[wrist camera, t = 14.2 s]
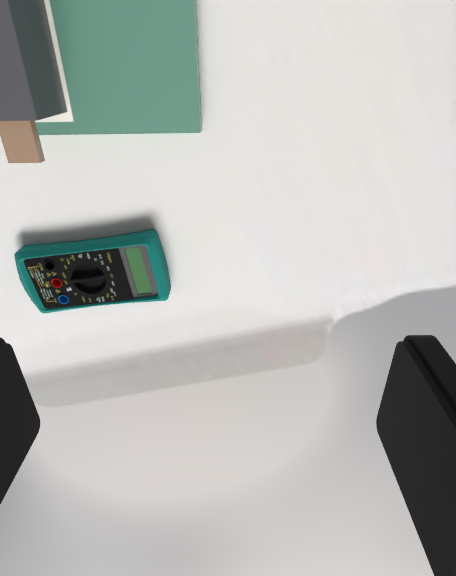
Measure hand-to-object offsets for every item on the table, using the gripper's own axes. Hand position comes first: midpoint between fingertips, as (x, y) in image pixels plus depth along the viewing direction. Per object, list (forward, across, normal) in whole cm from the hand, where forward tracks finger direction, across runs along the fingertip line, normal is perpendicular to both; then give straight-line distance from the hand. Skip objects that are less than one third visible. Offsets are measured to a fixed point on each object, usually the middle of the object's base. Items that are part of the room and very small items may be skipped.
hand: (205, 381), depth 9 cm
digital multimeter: (+29, +14, +12) cm, 34 cm away
